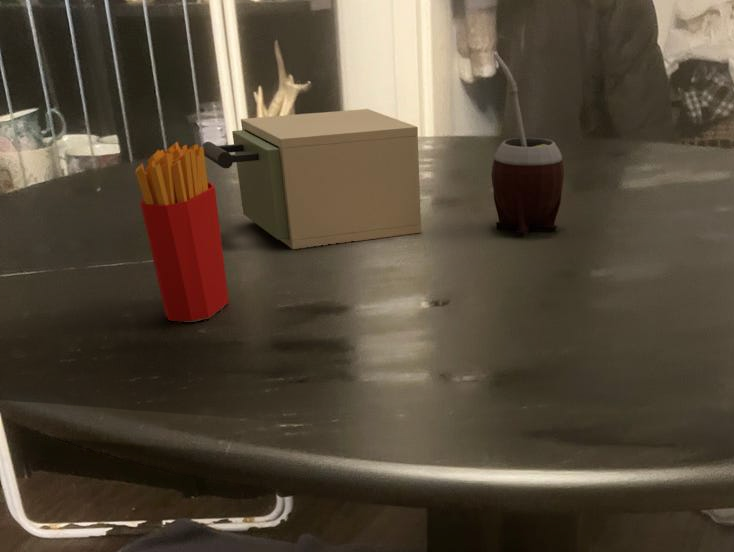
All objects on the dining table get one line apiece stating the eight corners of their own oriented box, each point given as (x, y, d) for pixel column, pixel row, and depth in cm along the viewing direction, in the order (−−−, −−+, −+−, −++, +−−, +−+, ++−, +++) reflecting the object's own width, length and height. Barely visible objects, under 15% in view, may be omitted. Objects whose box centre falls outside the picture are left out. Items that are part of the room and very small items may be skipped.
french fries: (195, 293, 82) (169, 136, 75) (240, 296, 82) (217, 137, 75) (150, 326, 76) (116, 157, 69) (198, 329, 75) (168, 158, 68)
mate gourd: (553, 239, 96) (560, 64, 87) (476, 235, 98) (475, 62, 89) (567, 221, 102) (575, 55, 93) (493, 217, 104) (494, 53, 95)
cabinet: (292, 249, 94) (280, 138, 88) (254, 221, 103) (240, 118, 97) (421, 232, 99) (417, 126, 93) (373, 206, 108) (367, 108, 102)
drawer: (237, 245, 92) (224, 153, 87) (206, 218, 100) (192, 134, 95) (397, 224, 98) (393, 138, 93) (355, 201, 106) (349, 121, 101)
